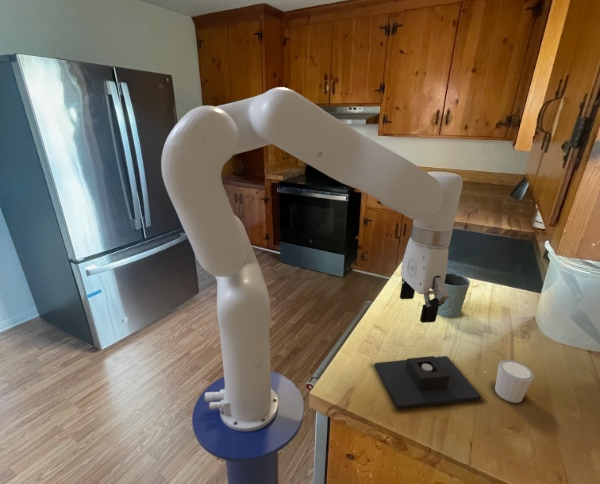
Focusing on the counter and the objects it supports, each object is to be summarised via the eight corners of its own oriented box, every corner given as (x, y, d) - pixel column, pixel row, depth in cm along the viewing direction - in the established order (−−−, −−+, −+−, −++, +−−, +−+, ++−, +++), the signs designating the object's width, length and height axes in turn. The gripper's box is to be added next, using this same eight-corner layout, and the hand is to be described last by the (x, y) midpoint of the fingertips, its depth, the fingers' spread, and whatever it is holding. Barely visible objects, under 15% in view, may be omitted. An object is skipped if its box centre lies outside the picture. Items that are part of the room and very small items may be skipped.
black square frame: (418, 390, 76) (421, 378, 74) (405, 369, 82) (407, 358, 81) (446, 387, 77) (449, 375, 75) (431, 367, 83) (433, 355, 82)
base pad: (397, 410, 72) (400, 393, 70) (374, 366, 85) (376, 351, 83) (480, 400, 75) (484, 384, 73) (446, 359, 88) (449, 345, 86)
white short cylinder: (500, 378, 81) (507, 355, 79) (531, 396, 76) (540, 372, 73) (486, 390, 78) (493, 366, 75) (517, 409, 72) (525, 384, 70)
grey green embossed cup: (463, 307, 113) (470, 276, 108) (462, 322, 104) (470, 288, 100) (431, 300, 117) (437, 270, 112) (428, 314, 109) (434, 281, 104)
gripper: (395, 223, 73) (385, 291, 80) (436, 251, 57) (419, 333, 64) (426, 223, 74) (413, 290, 81) (475, 250, 59) (454, 331, 65)
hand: (416, 309), depth 72 cm, fingers open, 9 cm apart
